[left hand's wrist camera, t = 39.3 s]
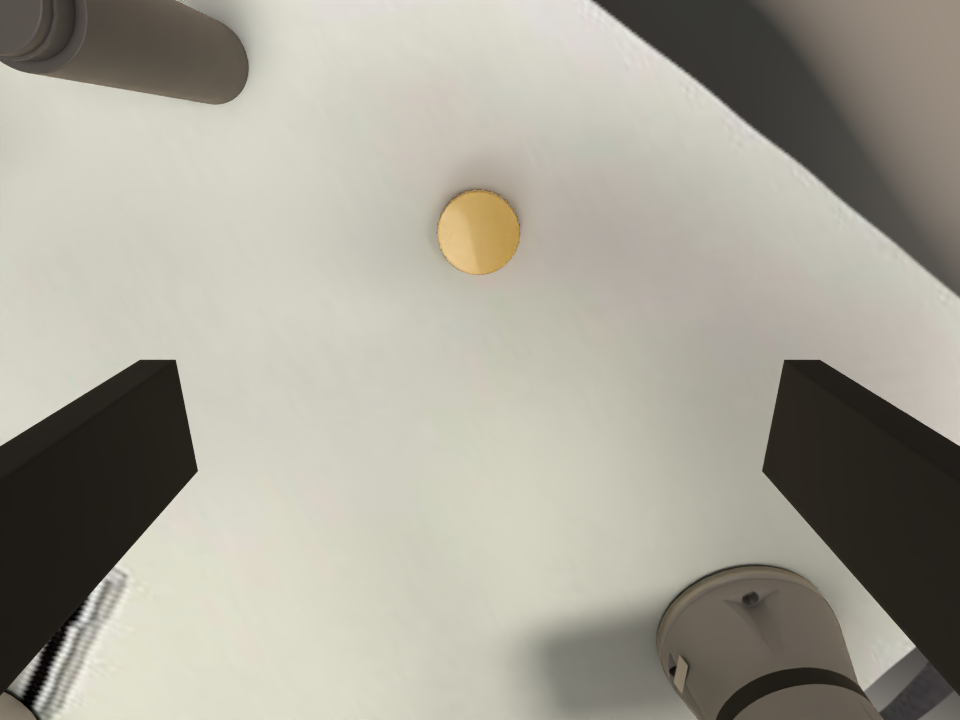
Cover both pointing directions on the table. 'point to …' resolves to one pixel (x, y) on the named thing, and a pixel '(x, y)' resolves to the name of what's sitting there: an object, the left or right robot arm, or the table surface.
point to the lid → (478, 232)
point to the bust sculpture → (13, 709)
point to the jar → (125, 46)
